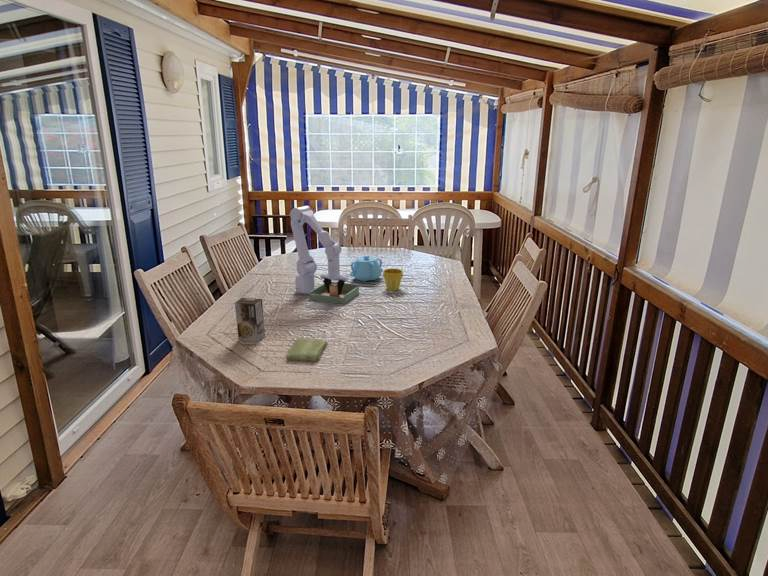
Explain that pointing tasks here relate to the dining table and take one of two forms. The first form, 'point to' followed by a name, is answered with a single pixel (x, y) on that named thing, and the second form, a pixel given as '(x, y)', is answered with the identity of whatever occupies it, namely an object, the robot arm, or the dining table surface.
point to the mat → (320, 305)
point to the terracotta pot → (333, 290)
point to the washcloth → (306, 350)
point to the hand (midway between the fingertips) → (334, 293)
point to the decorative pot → (366, 268)
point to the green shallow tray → (346, 295)
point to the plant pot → (392, 278)
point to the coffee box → (250, 319)
